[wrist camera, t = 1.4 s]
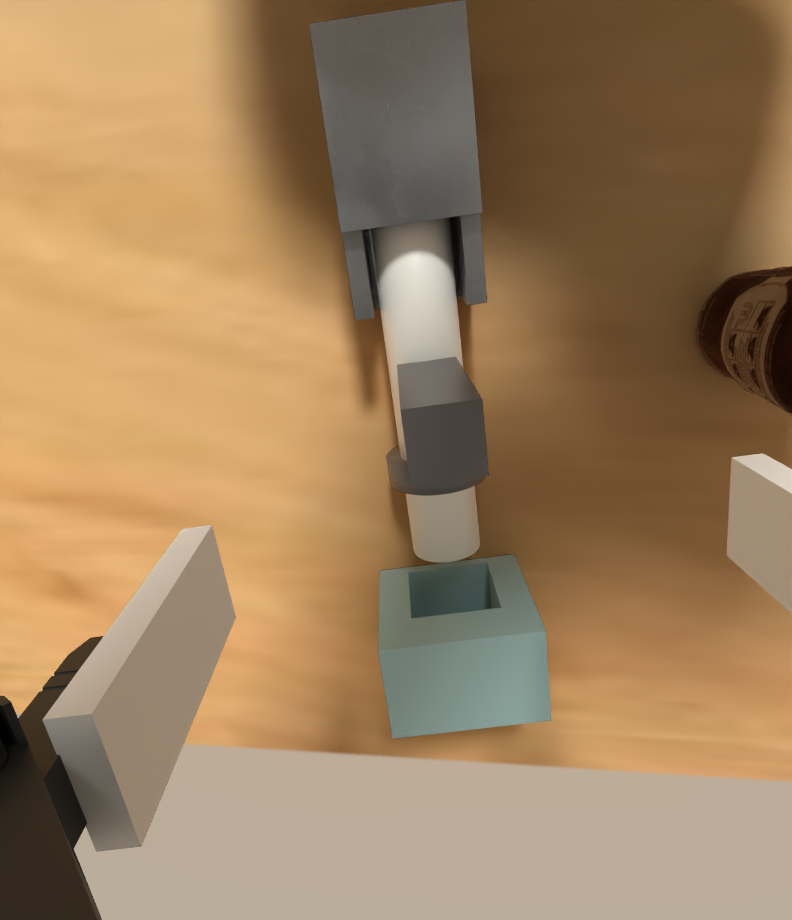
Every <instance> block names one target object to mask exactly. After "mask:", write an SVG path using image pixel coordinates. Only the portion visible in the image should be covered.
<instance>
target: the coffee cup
mask: <svg viewBox="0 0 792 920" xmlns="http://www.w3.org/2000/svg"><path fill="white" fill-rule="evenodd" d="M698 343H699V346H700V349H701V352H702V354H703V356H704V358H705V359H706V360H707V362H708V363H709V364H710V365H711V366H712V367H713V368H714V369H716V370H717V371H718V372H719V373H720V374H721V375H723V376H724V377H732V378H734V379H735V380H736V382H737V383H738V384H739V385H740V386H741V387H742V388H743V389H745V390H746V391H748V392H751V393H755V394H757V395H759V396H761V397H763V398H765V399H766V400H767V401H768V402H769V403H772V404H774V405H776V406H778V407H780V408H782V409H783V410H784V411H786V412H788V413H789V414H790V415H791V416H792V266H791V267H779V268H775V269H768V270H759V271H751V272H745V273H741V274H738V275H735V276H732V277H730V278H729V279H727V280H726V281H725V282H724V283H723V284H722V285H721V286H719V287H718V288H717V289H716V291H715V292H714V293H713V294H712V295H711V296H710V297H709V299H708V300H707V302H706V303H705V305H704V307H703V310H702V312H701V315H700V320H699V327H698Z"/></svg>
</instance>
